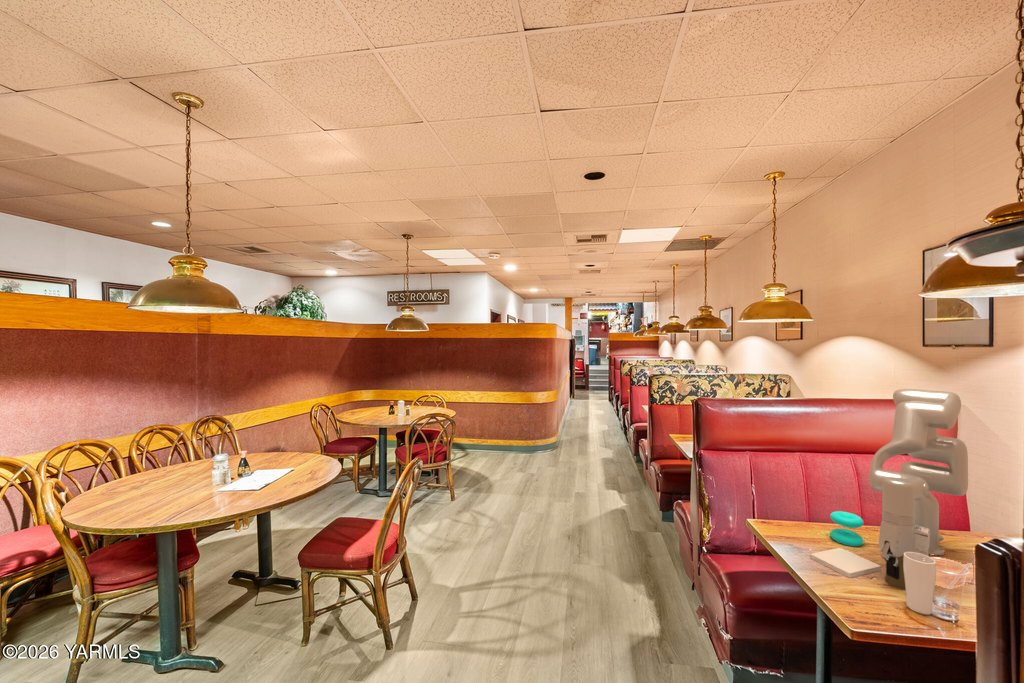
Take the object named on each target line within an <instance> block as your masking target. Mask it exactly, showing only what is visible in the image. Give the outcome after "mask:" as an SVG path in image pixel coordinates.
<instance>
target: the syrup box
mask: <svg viewBox="0 0 1024 683" xmlns="http://www.w3.org/2000/svg"><path fill="white" fill-rule="evenodd" d="M914 532H915V553H920V554H923V555H926V556H928V557H930V555H929V540H930V529H928V528H924V527H921V526H917V525H914Z"/></svg>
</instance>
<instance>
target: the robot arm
mask: <svg viewBox="0 0 1024 683" xmlns="http://www.w3.org/2000/svg"><path fill="white" fill-rule="evenodd" d="M892 400H893V402H894V405H895V406H896V407H895V412H894V420H893V428H892V433H891V434H892V436H891V440H890V442H887V444H885V445H883V446H882V447H880V448H879V449H878V450H877V451H876V452H875V454H874V455H873V457H872V459H871V462H870V468H869V475H868V483H869V486H870V487H871V489H873V490H874V491H876V492H879V493H881V494H882V496H881V497H882V499H881V500H882V502H881V503H882V504H881V505H882V507H881V508H882V509H881V510H882V511H881V513H882V514H881V517H882V518H881V519H882V520H881V523H880V527H879V532H878V533H879V534H878V551H880V552H881V553H880V557H882V559H884V562H885V563H886V564H885V565H886V567H885V568H886V569H885V571H886V572H885V575H886V574H887V575H888V576H891V577H893V578H895V579H899V567H898V557H901V556H903V555H904V553H905V552H915V532H914V525H917V526H921V527H924V528H928V529H930V540H929V554H934V555H933V556H937V555H940V556H944V555H945V552H946V551H945V549H944V548H943V546H941V545H939V544H940V542H941V541H944V537H943V535H940V504H939V502H938V499H937V498H936V497H935V496H934V495H933V493H932V492H935V493H940V494H946V495H950V496H957V497H963V496H965V495H966V494H967V492H968V489H969V452H968V447H967V445H966V443H965V442H964V441H962V439H959V438H955V437H951V436H942V435H939V434H938V429H941V430H950V429H952V428H954V427H955V425H956V423H957V421H958V417H959V414H960V412H961V410H962V409H961V408H962V401H961V398H960V396H959V395H958V394H957V393H955V392H951V391H941V390H928V389H916V388H899V389H897V390H895V391H894V392H893V394H892ZM900 455H908V456H909V457H911V458H913V459H916V460H922V461H929V462H932V463H933V462H934V463H940V464H945V465H947V466H943V465H938V464H931V463H926V462H919V461H906V462H904V463H902V464H901V466H900V469H899V471H900V472H898V471H893V470H888V469H883V467H884V465H885V462H886V461H888V459H891V458H893V457H896V456H900ZM890 552H892V553H893V554H890ZM890 556H892V557H894V560H893V559H892V558H890Z"/></svg>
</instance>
